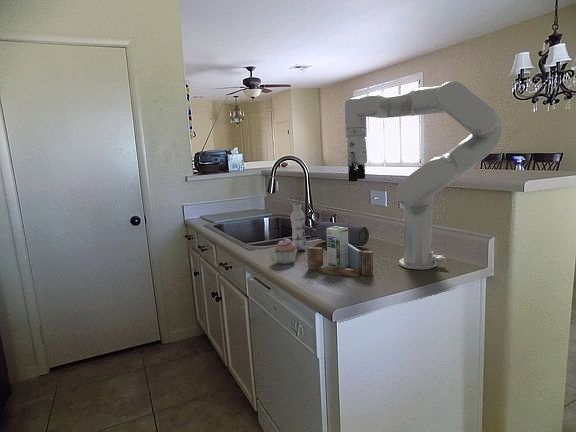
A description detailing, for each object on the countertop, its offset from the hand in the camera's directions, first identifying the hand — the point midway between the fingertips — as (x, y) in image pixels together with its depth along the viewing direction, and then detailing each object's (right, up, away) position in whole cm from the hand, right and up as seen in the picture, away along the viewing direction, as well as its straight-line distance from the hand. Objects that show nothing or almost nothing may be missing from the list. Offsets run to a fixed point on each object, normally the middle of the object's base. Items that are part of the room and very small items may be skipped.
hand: (357, 180), depth 142 cm
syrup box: (-8, -32, -4) cm, 33 cm away
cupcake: (-26, -32, +5) cm, 42 cm away
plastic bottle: (-21, -28, +22) cm, 42 cm away
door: (-3, -32, -7) cm, 33 cm away
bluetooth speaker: (-2, -27, +27) cm, 38 cm away
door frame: (-8, -33, -11) cm, 36 cm away
